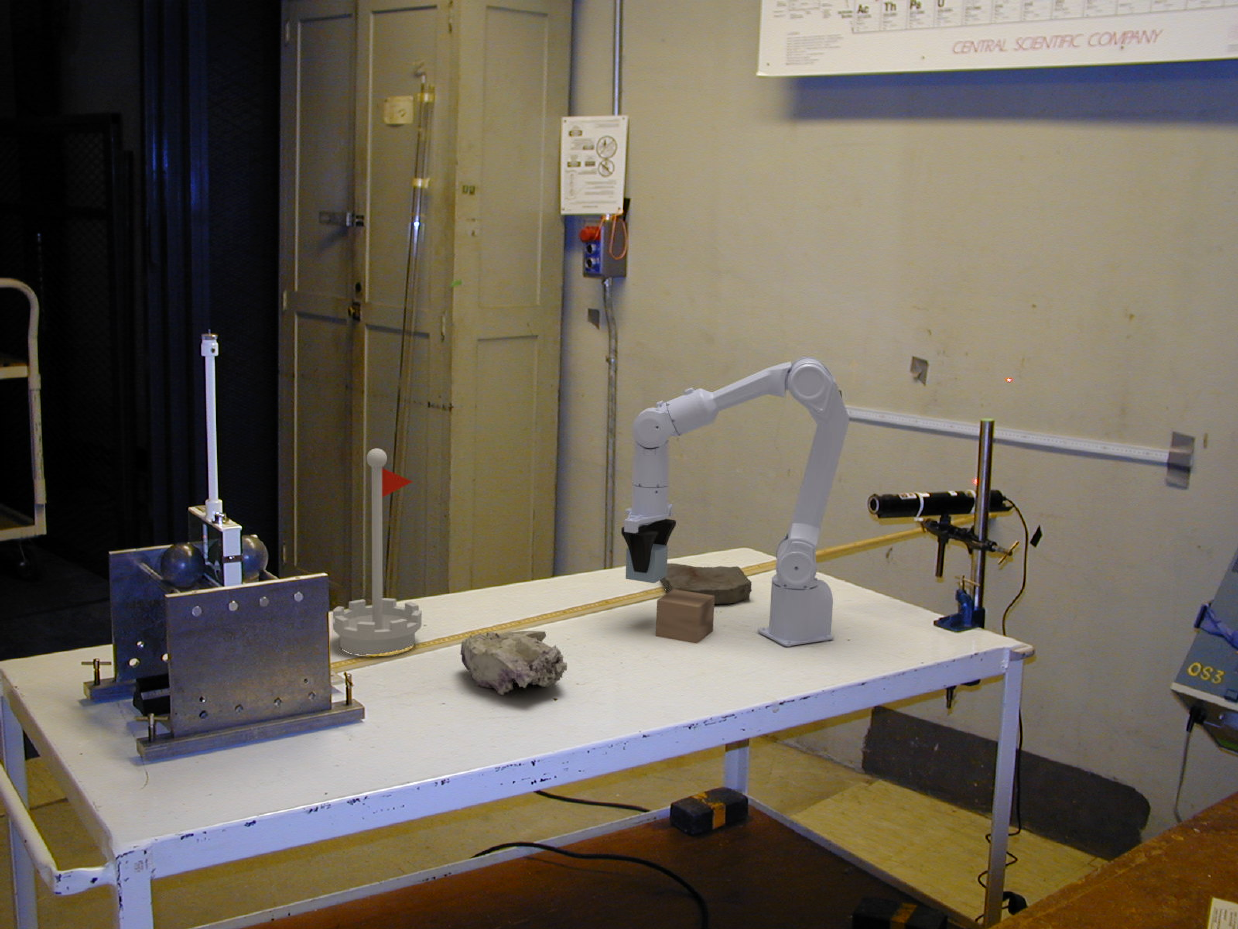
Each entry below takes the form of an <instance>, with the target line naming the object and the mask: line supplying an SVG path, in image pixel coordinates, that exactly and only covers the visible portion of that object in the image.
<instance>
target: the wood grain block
mask: <svg viewBox="0 0 1238 929" xmlns="http://www.w3.org/2000/svg"><path fill="white" fill-rule="evenodd" d="M714 599H715V596H713V595H707V594H700V593H694V592H688V591H682V590H676V589H674V590H672V591H671V592H669V593H667V592H666V594H664V595H663V596H661V597H660V598H658V599H657V600H656V616H655V618H656V621H655V637H658V638H664V639H670V640H676V641H681V642H685V643H692V644H697V645H698V644H699V643H700V642H701V641H703V640H704V639H705V638H706V637H707V636H709V635H710V634H711V633H713V632H714V617H715V616H714V615H715V614H714V613H715V604H714Z"/></svg>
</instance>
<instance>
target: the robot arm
mask: <svg viewBox="0 0 1238 929" xmlns="http://www.w3.org/2000/svg"><path fill="white" fill-rule="evenodd" d="M787 391H789V394H790V395H791V397H792V398H793V399H795V401H797V403H799V404H801V406H803V407H804V408H806V409H807V410H808V413H809V414H810V416H811V418H813V420H814V422H815V423H816V427H815V432H814V436H813V438H812V443H811V445H810V446H811V447H810V450H809V452H808V458H807V462H806V465H805V468H804V472H803V477H802V479H801V484H800V488H799V490H798V491H799V492H798V494H797V495H798V496H797V499H796V503H795V506H794V510H793V512H792V513H793V514H792V517H791V520H790V523H789V525H788V529H787V532H786V534H785V536H784V538H782V540H780V542H779V543H778V544H777V547H776V551H775V558H776V562H775V573H776V574H774V575H773V576H772V577H771V589H770V604H769V605H770V606H769V622H768V623H769V626H768V627H762V628H761V627H760V628H758V629H757V633H759V634H761V635H763V636H765V637H766V638H769V639H771V640H772V641H773V642H774V641H775V642H776V643H778V644H780V645H782V646H784V647H791V646H799V645H803V644H804V645H805V644H811V643H818V642H823V641H829V640H834V638H835V637H834V635H833V634H832V621H833V606H834V605H833V603H834V598H833V593H832V592H833V591H832V590H831V587H830V586H829V584H828V583H827V582H826V581H825V580H822V579H818V578H817V577H816V575H817V573H818V563H817V559H816V555H817V553H816V552H817V548H818V544H819V537H820V531H821V527H822V523H823V519H824V516H825V512H826V509H827V505H828V501H829V499H830V498H829V497H830V494H831V490H832V487H833V483H834V481H835V480H834V479H835V476H836V473H837V472H836V471H837V470H838V469H837V468H838V466H839V465H838V464H839V461H840V457H841V454H842V451H843V446H844V442H845V439H846V435H847V431H848V429H849V425H850V417H849V414H848V410H847V408H846V405H845V402H844V400H843V398H842V395H841V392H840V389H839V387H838V384H837V382H836V380H835V377H834V375H833V373H831V371H830V370H829V369H828V367H826V365H825V364H824V363H823V362H822V361H821V360H819V359H818V358H816V357H812V356H805V357H804V356H803V357H800V358H798V359H797V360H795V361H794V362H793V363H792V361H788V362H783V363H780V364H776V365H774V366H770V367H767V368H765V369H761V370H760V371H758V372H756V373H754V374H751V375H749V376H746V377H744V378H742V379H739V380H737V381H735V382H733V383H730V384H728V385H726V386H724V387H721V388H719V389H717V390H715V391H708V390H707V389H703V388H702V387H701V388H697V389H694V387H690V388H686V389H685V390H684V394H683V395H680V396H678V397H675V398H673V399H670V400H668V401H666V402H664V400H660V401H657V402H656V407H648V408H645V409H643V410H642V411H641V412H640V413H639V414H638V415H637V416H636V418H635V419H634V421H633V424H632V427H631V428H632V429H631V430H632V431H631V432H632V437H633V439H634V445H633V450H634V453H633V456H632V477H631V478H632V486H631V487H632V488H631V491H632V492H631V507H628V508H626V509H624V514H625V515H628V516H627V518H625V519H624V526H622V527H621V535H622V537H623V539H624V541H625V543H626V545H627V548H629V551H630V556H631V560H632V565H633V569H634V572H641V573H647V571H648V568H649V563H650V556H651V550H652V546H653V544H659V545H666V546H668V542H669V540H670V537H671V535H672V533H673V531H674V529H675V527H676V525H677V520H675V519H669V517H672V516H673V515H674V503H669V482H670V481H669V480H670V476H669V474H670V455H669V437H675V438H678V437H680V436H682V435H686V434H688V433H690V432H693V431H696V430H698V429H701V428H703V427H707V426H709V425H710V424H714V422H715V421H716V419H717V416H718V414H719V413H720V412H721V411H724V410H726V409H730V408H732V407H735V406H737V405H741V404H743V403H746V402H748V401H751V400H754V399H757V398H759V397H762V396H765V395H770V396H776V397H781V398H786V393H787Z"/></svg>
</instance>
